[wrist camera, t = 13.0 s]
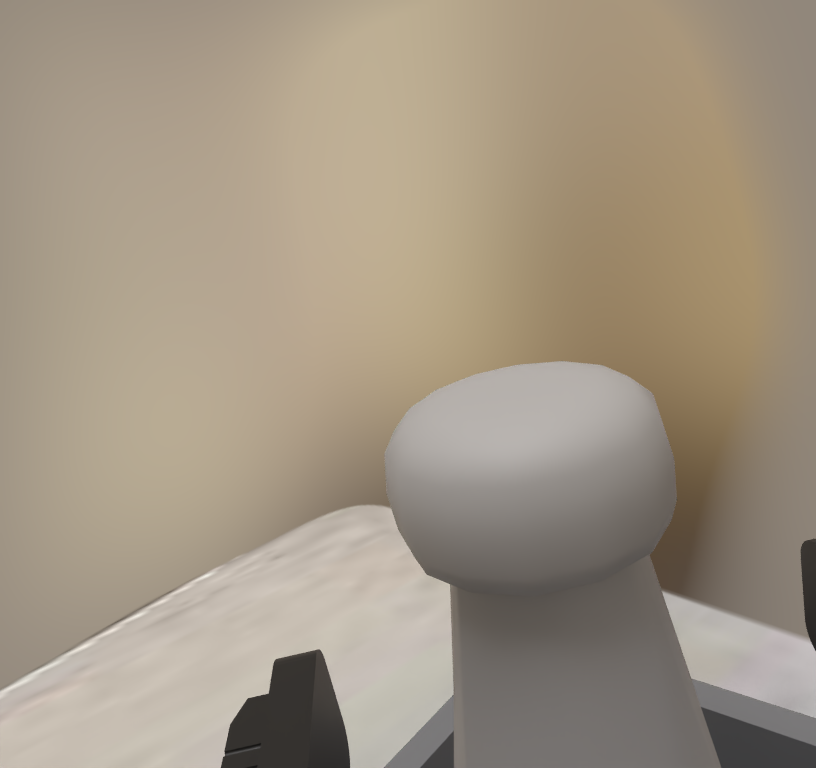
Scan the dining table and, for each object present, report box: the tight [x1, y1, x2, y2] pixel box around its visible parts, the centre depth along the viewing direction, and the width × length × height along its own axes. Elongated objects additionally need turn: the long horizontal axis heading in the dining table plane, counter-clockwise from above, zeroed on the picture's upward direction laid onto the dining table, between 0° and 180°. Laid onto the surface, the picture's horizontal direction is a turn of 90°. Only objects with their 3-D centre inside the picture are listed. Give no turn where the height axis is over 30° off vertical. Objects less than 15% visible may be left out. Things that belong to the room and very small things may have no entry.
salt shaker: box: [385, 361, 721, 768], centre depth 14 cm, size 6×6×13 cm
